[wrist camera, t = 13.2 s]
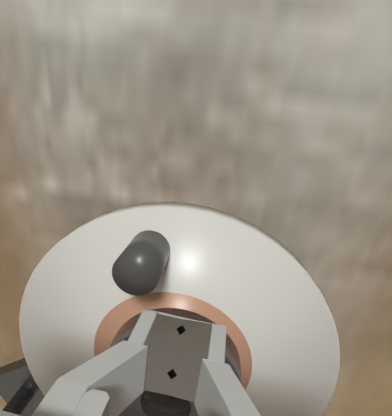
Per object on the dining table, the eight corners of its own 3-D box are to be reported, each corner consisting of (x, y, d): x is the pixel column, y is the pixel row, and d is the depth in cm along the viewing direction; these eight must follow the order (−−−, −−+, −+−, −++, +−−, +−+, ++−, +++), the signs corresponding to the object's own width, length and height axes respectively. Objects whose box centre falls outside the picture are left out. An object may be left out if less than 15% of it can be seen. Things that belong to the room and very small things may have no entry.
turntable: (54, 160, 19) (-19, 177, 13) (376, 243, 18) (442, 297, 13) (37, 393, 26) (-15, 468, 20) (271, 459, 25) (283, 556, 20)
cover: (119, 293, 18) (99, 325, 15) (256, 327, 18) (262, 368, 15) (104, 393, 21) (85, 437, 18) (222, 424, 21) (222, 474, 18)
